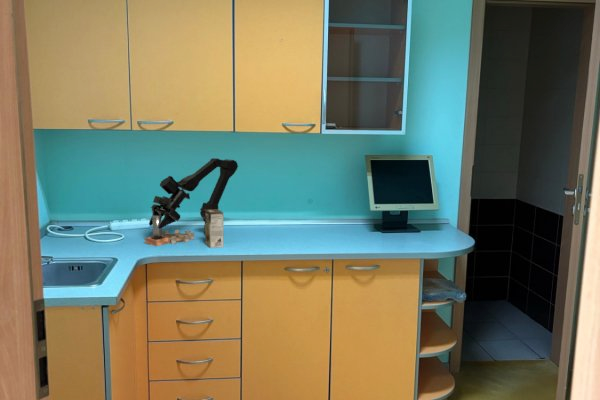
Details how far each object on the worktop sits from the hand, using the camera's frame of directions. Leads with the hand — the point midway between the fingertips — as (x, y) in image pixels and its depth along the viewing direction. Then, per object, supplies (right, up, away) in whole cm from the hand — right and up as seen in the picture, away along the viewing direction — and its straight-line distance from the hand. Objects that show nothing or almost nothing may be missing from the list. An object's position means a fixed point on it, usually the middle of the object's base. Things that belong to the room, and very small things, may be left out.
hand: (154, 226), depth 269 cm
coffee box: (+28, -9, -1) cm, 29 cm away
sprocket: (+6, -7, +8) cm, 12 cm away
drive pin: (+1, -8, +2) cm, 8 cm away
